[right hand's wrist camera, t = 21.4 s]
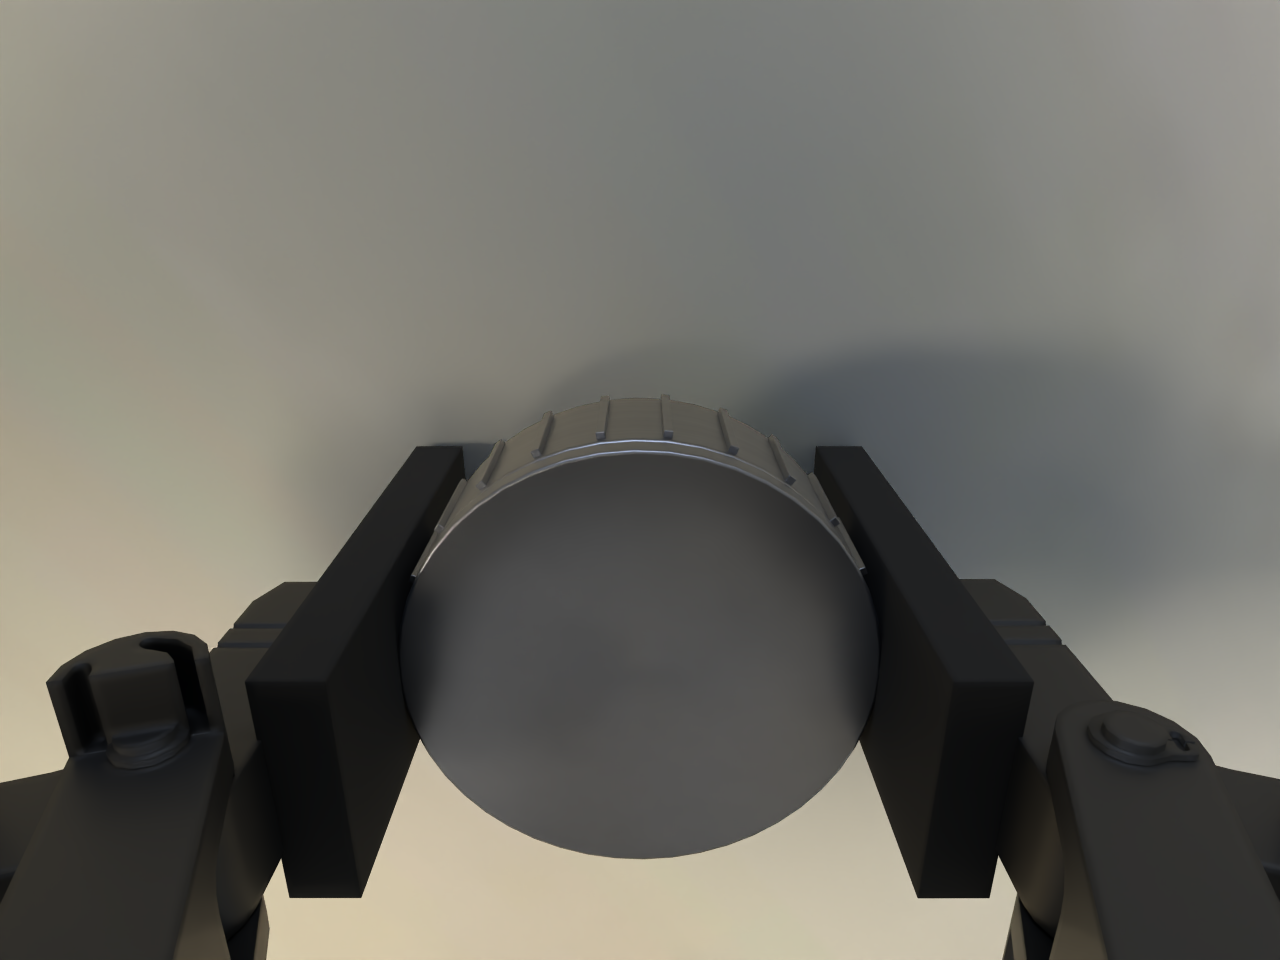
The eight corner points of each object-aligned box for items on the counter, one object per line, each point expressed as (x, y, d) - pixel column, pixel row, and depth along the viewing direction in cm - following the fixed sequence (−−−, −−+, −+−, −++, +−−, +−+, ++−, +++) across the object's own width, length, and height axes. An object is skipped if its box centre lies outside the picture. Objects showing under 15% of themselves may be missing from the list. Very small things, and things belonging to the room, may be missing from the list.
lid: (908, 449, 11) (963, 513, 9) (776, 790, 14) (799, 899, 12) (469, 344, 11) (431, 388, 9) (405, 716, 13) (363, 816, 11)
